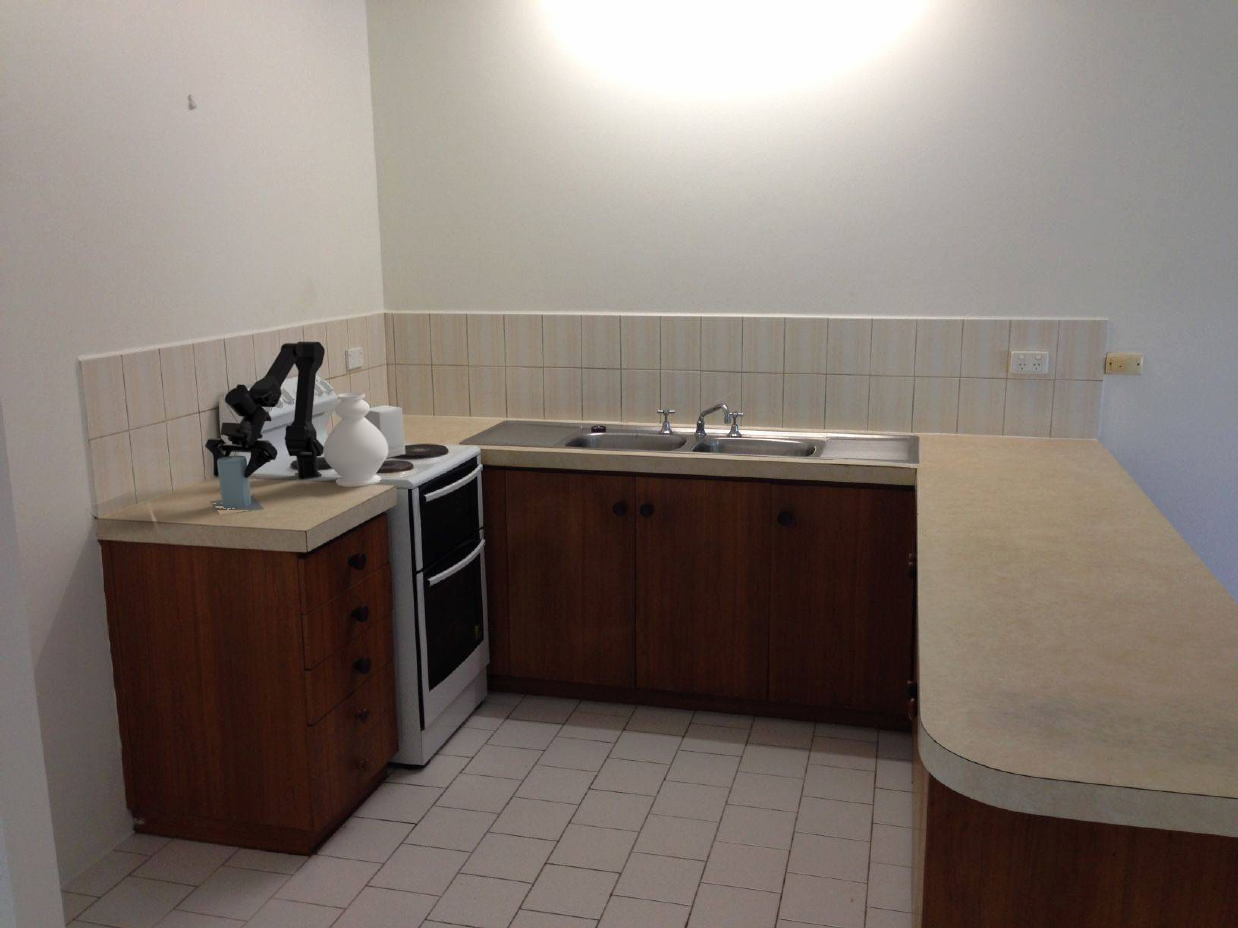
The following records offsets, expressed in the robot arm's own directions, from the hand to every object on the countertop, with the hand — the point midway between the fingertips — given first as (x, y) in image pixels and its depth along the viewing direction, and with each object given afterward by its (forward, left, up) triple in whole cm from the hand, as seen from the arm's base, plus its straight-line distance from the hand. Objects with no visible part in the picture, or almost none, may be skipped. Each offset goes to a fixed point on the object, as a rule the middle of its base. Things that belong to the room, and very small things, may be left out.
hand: (230, 476), depth 283 cm
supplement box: (-39, +51, -9) cm, 65 cm away
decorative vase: (-10, +35, -9) cm, 38 cm away
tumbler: (-1, +1, -8) cm, 8 cm away
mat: (-1, +1, -9) cm, 9 cm away
